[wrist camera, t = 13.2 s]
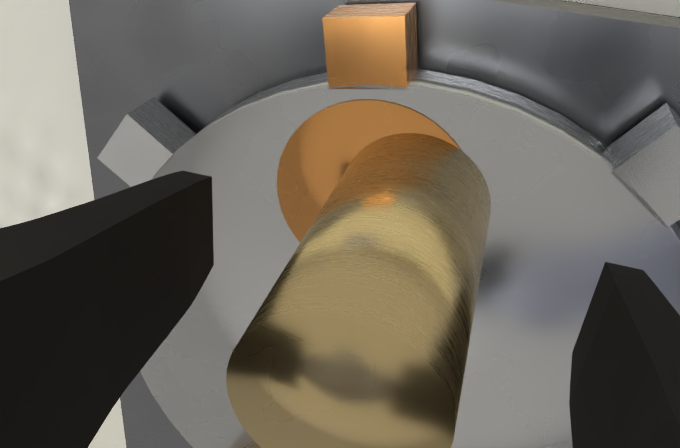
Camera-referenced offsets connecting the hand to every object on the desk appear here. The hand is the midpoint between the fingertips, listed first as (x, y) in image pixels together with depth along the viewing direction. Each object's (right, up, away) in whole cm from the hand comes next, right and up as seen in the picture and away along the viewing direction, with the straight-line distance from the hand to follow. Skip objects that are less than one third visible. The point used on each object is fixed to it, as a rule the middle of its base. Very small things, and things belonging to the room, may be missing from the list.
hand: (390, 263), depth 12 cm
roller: (+1, +1, +2) cm, 2 cm away
